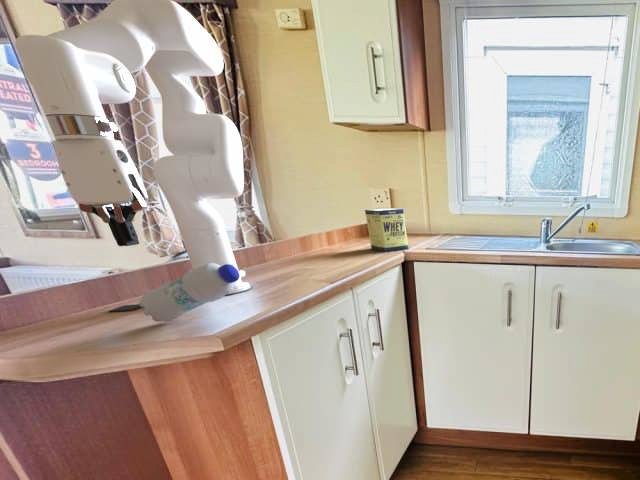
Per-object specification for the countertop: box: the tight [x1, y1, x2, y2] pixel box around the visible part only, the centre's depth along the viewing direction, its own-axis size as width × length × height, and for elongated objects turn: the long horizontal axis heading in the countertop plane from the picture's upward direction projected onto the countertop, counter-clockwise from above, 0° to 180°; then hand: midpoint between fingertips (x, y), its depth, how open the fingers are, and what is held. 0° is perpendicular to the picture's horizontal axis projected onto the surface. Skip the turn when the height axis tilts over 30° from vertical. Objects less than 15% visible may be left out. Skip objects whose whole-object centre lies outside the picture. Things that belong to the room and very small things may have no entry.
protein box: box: [364, 208, 409, 252], centre depth 175 cm, size 10×16×16 cm
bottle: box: [139, 263, 240, 322], centre depth 82 cm, size 7×7×20 cm
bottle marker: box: [108, 304, 142, 313], centre depth 97 cm, size 5×5×1 cm
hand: (129, 244), depth 78 cm, fingers closed
